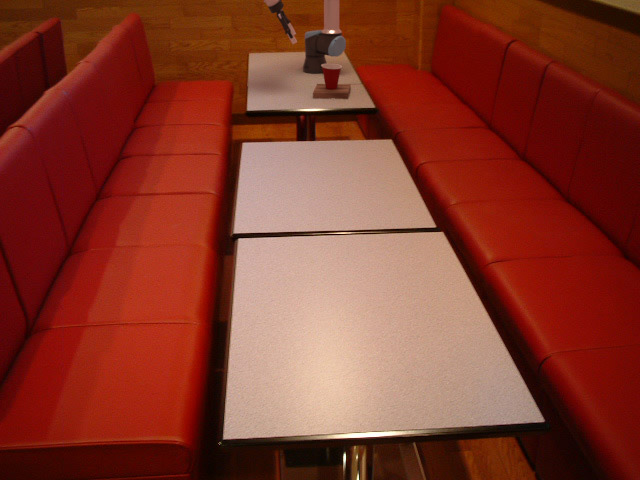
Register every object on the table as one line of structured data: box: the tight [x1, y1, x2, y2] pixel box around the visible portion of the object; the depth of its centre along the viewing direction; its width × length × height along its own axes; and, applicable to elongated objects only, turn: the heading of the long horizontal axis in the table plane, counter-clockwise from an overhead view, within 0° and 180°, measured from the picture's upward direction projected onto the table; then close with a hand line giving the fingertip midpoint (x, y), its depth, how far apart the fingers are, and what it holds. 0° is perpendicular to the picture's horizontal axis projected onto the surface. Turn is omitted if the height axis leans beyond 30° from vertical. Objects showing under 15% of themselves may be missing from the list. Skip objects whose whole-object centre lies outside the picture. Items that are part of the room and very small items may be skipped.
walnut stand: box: [312, 83, 352, 100], centre depth 333 cm, size 18×18×3 cm
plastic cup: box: [321, 63, 343, 90], centre depth 330 cm, size 11×11×12 cm
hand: (294, 39), depth 336 cm, fingers open, 13 cm apart
